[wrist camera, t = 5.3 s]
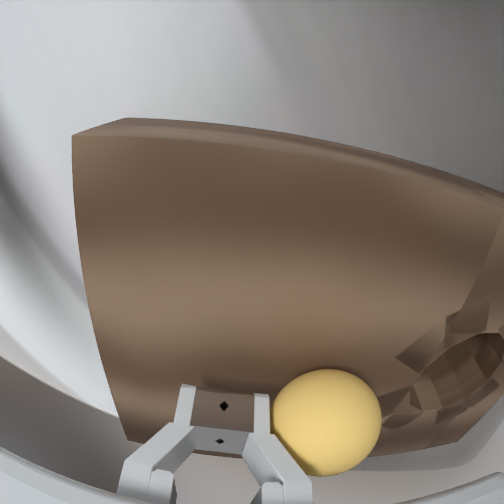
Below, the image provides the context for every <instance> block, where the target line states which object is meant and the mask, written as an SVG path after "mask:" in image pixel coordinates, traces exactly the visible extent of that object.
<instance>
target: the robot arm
mask: <svg viewBox="0 0 504 504" xmlns="http://www.w3.org/2000/svg"><path fill="white" fill-rule="evenodd" d="M194 449H197V450H206V451H216V452H224V453H232V454H241V455H242V457H243V459H244V461H245V462H246V464H247V466H248V467H249V469H250V470H251V472H252V474H253V475H254V477H255V478H256V480H257V482H258V484H259V485H260V487H261V488H260V489H259V491H258V493H257V494H256V495H255V497H254V498H253V500H252V502H251V504H313V492H312V482H311V480H310V479H309V478H308V476H307V475H306V474H305V473H304V471H303V470H302V469H301V468H300V466H299V465H298V464H297V463H296V461H295V460H294V459H293V458H292V456H291V455H290V454H289V453H288V451H287V450H286V449H285V447H284V446H283V445H282V443H281V442H280V441H279V440H278V438H277V437H276V436H275V434H270V401H269V395H268V394H259V393H252V392H241V391H231V390H219V389H212V388H206V387H200V386H194V385H188V384H182V386H181V389H180V393H179V398H178V403H177V408H176V413H175V418H174V423H173V422H169V423H168V424H167V425H165V426H164V427H163V428H162V429H161V430H160V431H159V432H157V433H156V434H155V435H154V436H153V437H152V438H151V439H149V440H148V441H147V442H146V443H145V444H144V445H143V446H141V447H140V448H139V449H138V450H137V451H135V452H134V453H133V454H132V455H131V456H129V457H128V458H127V459H126V460H125V462H124V466H123V470H122V474H121V478H120V481H119V485H118V489H117V493H116V494H115V493H111V492H108V491H105V490H101V489H98V488H95V487H92V486H89V485H86V484H83V483H80V482H78V481H75V480H72V479H69V478H67V477H64V476H62V475H59V474H57V473H54V472H52V471H49V470H47V469H45V468H43V467H40V466H38V465H36V464H34V463H31V462H29V461H27V460H25V459H23V458H21V457H19V456H17V455H15V454H13V453H11V452H9V451H7V450H6V449H4V448H2V447H0V504H176V499H177V492H176V486H175V480H174V476H173V473H174V472H175V471H176V470H177V468H179V467H180V465H181V464H182V463H183V462H184V461H185V460H186V459H187V458H188V457H189V455H191V453H192V452H193V451H194ZM396 504H504V474H503V473H501V472H496V473H492V474H490V475H487V476H485V477H482V478H480V479H477V480H475V481H472V482H469V483H467V484H464V485H461V486H458V487H455V488H452V489H449V490H445V491H442V492H439V493H436V494H432V495H428V496H425V497H421V498H417V499H413V500H409V501H405V502H400V503H396Z"/></svg>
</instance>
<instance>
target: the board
mask: <svg viewBox="0 0 504 504" xmlns="http://www.w3.org/2000/svg"><path fill="white" fill-rule="evenodd" d="M72 174H73V193H74V206H75V218H76V227H77V236H78V245H79V252H80V259H81V266H82V272H83V278H84V284H85V290H86V295H87V300H88V305H89V310H90V315H91V320H92V324H93V328H94V333H95V337H96V341H97V345H98V349H99V353H100V357H101V360H102V364H103V367H104V371H105V374H106V378H107V381H108V384H109V388H110V391H111V394H112V397H113V400H114V403H115V406H116V409H117V412H118V415H119V418H120V421H121V423H122V426H123V429H124V431H125V434H126V436H127V439H128V440H129V441H134V442H138V443H142V444H145V443H146V442H147V441H148V440H149V439H151V438H152V437H153V436H154V435H155V434H156V433H157V432H159V431H160V430H161V429H162V428H163V427H164V426H165V425H167V424H168V423H169V422H173V423H174V418H175V413H176V408H177V403H178V398H179V393H180V389H181V386H182V384H188V385H194V386H200V387H206V388H212V389H219V390H231V391H241V392H252V393H259V394H268V395H269V401H270V409H271V406H272V404H273V402H274V400H275V398H276V397H277V395H278V394H279V392H280V391H281V390H282V389H283V388H284V387H285V386H286V385H287V384H288V383H290V382H291V381H292V380H294V379H295V378H297V377H299V376H301V375H303V374H305V373H308V372H311V371H315V370H320V369H336V370H341V371H345V372H348V373H351V374H353V375H355V376H357V377H358V378H360V379H361V380H363V381H364V382H365V383H366V384H367V385H368V386H369V387H370V388H371V389H372V391H373V392H374V394H375V396H376V397H377V399H378V402H379V405H380V408H381V415H382V423H381V430H380V434H379V437H378V440H377V442H376V444H375V446H374V447H373V449H372V450H371V452H370V453H369V454H368V456H367V457H372V456H380V455H388V454H396V453H402V452H409V451H414V450H420V449H425V448H430V447H435V446H440V445H445V444H449V443H453V442H457V441H458V440H459V439H460V438H462V437H463V436H464V435H465V434H466V433H467V432H468V431H469V430H470V429H471V428H472V427H473V426H474V425H475V424H476V423H477V422H478V421H479V420H480V419H481V418H482V417H483V416H484V415H485V414H486V412H487V411H488V410H489V409H490V408H491V407H492V406H493V405H494V404H495V403H496V402H497V400H498V399H499V398H500V397H501V396H502V395H503V394H504V193H501V192H499V191H496V190H494V189H491V188H489V187H486V186H483V185H481V184H478V183H475V182H473V181H470V180H467V179H464V178H461V177H458V176H455V175H452V174H450V173H446V172H443V171H440V170H437V169H434V168H431V167H428V166H424V165H421V164H418V163H414V162H411V161H407V160H404V159H400V158H397V157H393V156H389V155H385V154H382V153H378V152H374V151H370V150H366V149H361V148H357V147H353V146H349V145H344V144H340V143H335V142H330V141H325V140H320V139H315V138H310V137H305V136H299V135H294V134H288V133H282V132H276V131H269V130H263V129H256V128H248V127H241V126H233V125H224V124H215V123H205V122H194V121H182V120H167V119H148V118H123V119H120V120H116V121H113V122H110V123H107V124H103V125H100V126H97V127H94V128H91V129H88V130H85V131H82V132H79V133H77V134H74V135H72ZM192 453H198V454H205V455H213V456H222V457H233V458H243V457H242V455H241V454H232V453H224V452H216V451H206V450H197V449H194V451H193V452H192Z"/></svg>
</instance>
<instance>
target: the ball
mask: <svg viewBox="0 0 504 504" xmlns="http://www.w3.org/2000/svg"><path fill="white" fill-rule="evenodd" d="M381 423H382V415H381V408H380V405H379V402H378V399H377V397H376V396H375V394H374V392H373V391H372V389H371V388H370V387H369V386H368V385H367V384H366V383H365V382H364V381H363V380H361V379H360V378H358V377H357V376H355V375H353V374H351V373H348V372H345V371H341V370H336V369H320V370H315V371H311V372H308V373H305V374H303V375H301V376H299V377H297V378H295V379H294V380H292V381H291V382H290V383H288V384H287V385H286V386H285V387H284V388H283V389H282V390H281V391H280V392H279V394H278V395H277V397H276V398H275V400H274V402H273V404H272V406H271V409H270V434H275V436H276V437H277V438H278V440H279V441H280V442H281V443H282V445H283V446H284V447H285V449H286V450H287V451H288V453H289V454H290V455H291V456H292V458H293V459H294V460H295V461H296V463H297V464H298V465H299V466H300V468H301V469H302V470H303V471H304V473H305V474H306V475H310V476H319V477H322V476H331V475H337V474H340V473H343V472H345V471H348V470H350V469H351V468H353V467H355V466H356V465H358V464H359V463H360V462H362V461H363V460H364V459H365V458H366V457H367V456H368V454H369V453H370V452H371V450H372V449H373V447H374V446H375V444H376V442H377V440H378V437H379V434H380V430H381Z"/></svg>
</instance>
